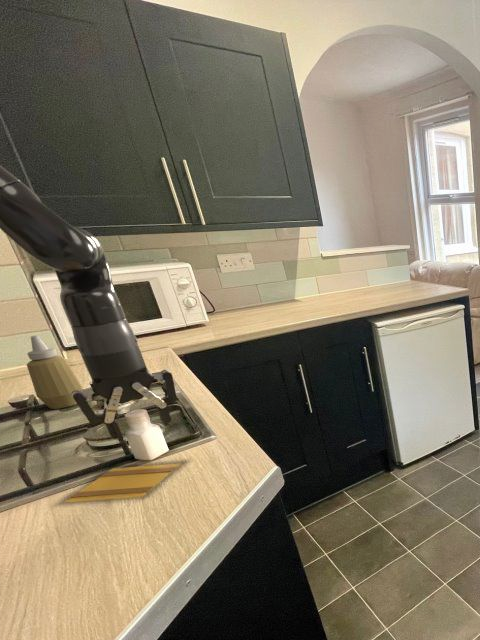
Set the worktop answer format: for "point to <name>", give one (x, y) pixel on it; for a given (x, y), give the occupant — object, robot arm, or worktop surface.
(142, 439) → the pepper shaker
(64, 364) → the squeeze bottle
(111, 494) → the towel
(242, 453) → the worktop surface
